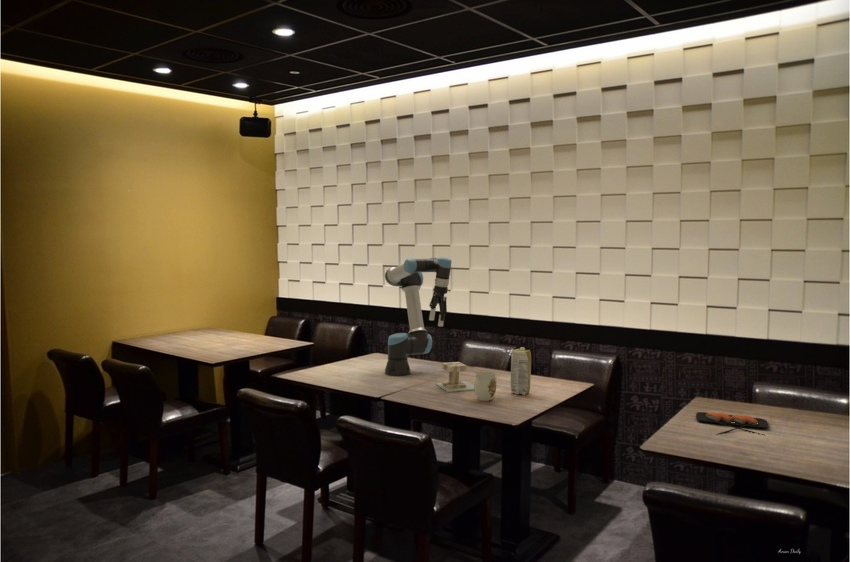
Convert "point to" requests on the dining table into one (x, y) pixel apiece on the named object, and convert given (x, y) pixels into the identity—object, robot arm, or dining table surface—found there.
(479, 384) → the cream mug
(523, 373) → the juice carton
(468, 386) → the mat
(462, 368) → the stool
